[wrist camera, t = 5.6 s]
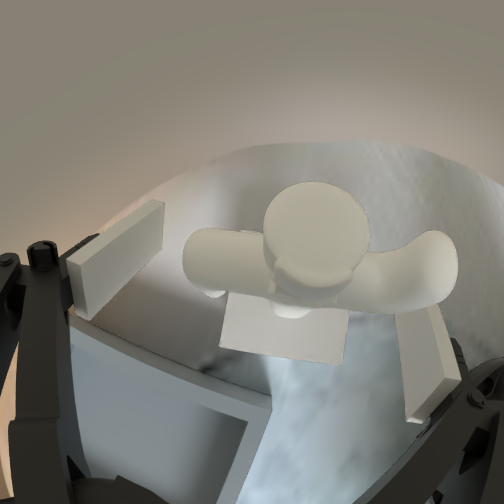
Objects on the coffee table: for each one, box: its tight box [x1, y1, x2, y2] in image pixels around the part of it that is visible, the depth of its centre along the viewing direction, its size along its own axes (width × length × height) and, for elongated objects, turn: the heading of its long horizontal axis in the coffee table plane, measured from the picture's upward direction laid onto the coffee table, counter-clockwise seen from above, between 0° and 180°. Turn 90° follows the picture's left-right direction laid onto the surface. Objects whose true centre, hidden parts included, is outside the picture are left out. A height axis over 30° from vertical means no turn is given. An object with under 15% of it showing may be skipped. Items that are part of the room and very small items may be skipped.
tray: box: [11, 315, 272, 504], centre depth 17 cm, size 16×15×5 cm
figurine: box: [182, 182, 458, 365], centre depth 15 cm, size 7×9×15 cm
